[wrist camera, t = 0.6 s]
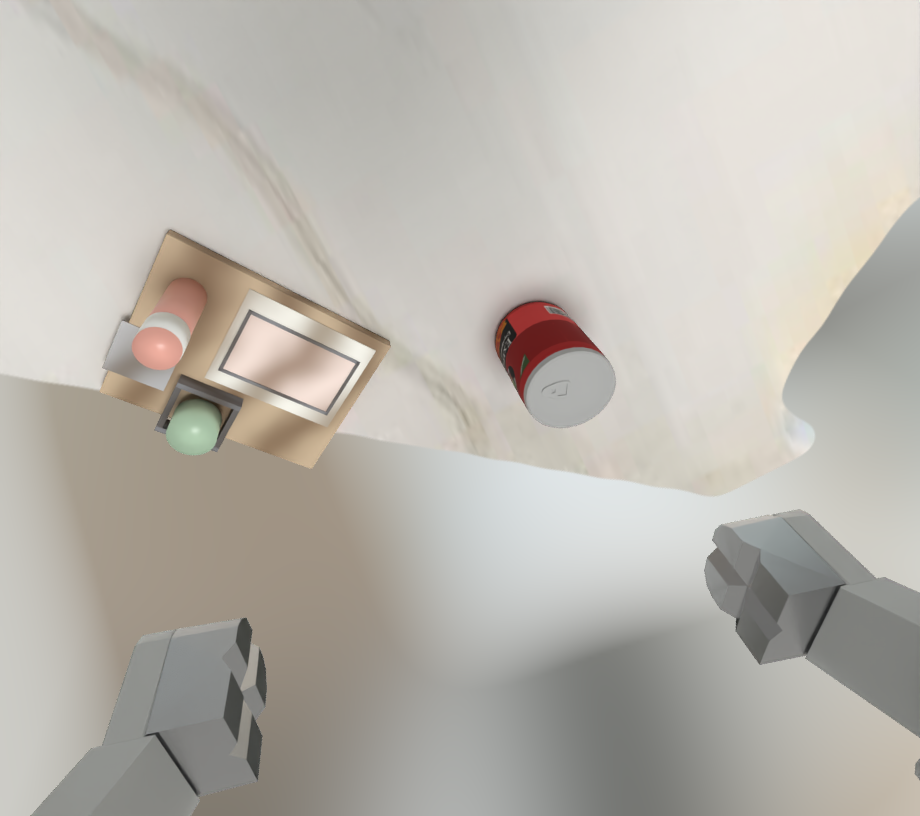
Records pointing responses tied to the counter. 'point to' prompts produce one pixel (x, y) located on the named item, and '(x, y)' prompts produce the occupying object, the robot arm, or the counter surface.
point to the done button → (194, 427)
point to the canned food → (554, 365)
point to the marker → (170, 325)
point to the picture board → (249, 357)
